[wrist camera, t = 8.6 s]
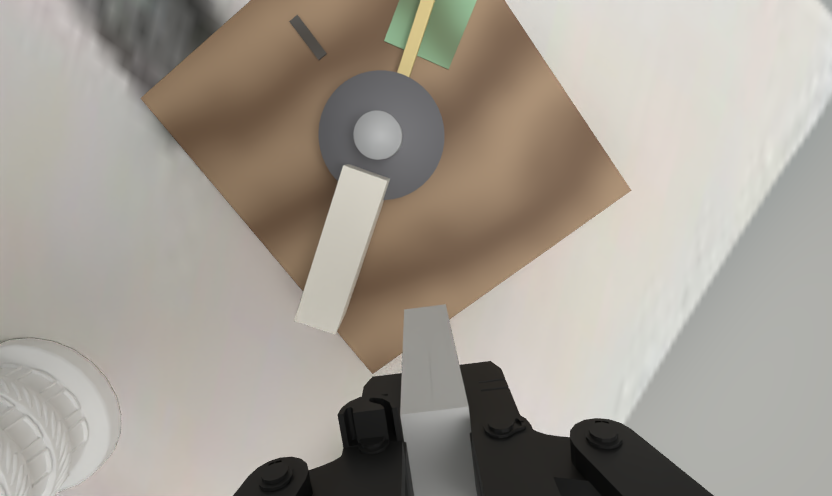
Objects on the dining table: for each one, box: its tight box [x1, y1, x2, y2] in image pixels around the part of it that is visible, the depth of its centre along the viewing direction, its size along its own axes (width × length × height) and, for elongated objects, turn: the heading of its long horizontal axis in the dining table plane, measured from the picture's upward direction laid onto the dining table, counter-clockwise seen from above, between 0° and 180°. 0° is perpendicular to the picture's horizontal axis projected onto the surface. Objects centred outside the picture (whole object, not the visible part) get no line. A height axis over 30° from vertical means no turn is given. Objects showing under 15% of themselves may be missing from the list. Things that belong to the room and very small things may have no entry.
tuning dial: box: [294, 0, 444, 335], centre depth 25 cm, size 20×7×4 cm, turn 161°
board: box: [141, 0, 631, 374], centre depth 28 cm, size 22×20×2 cm
